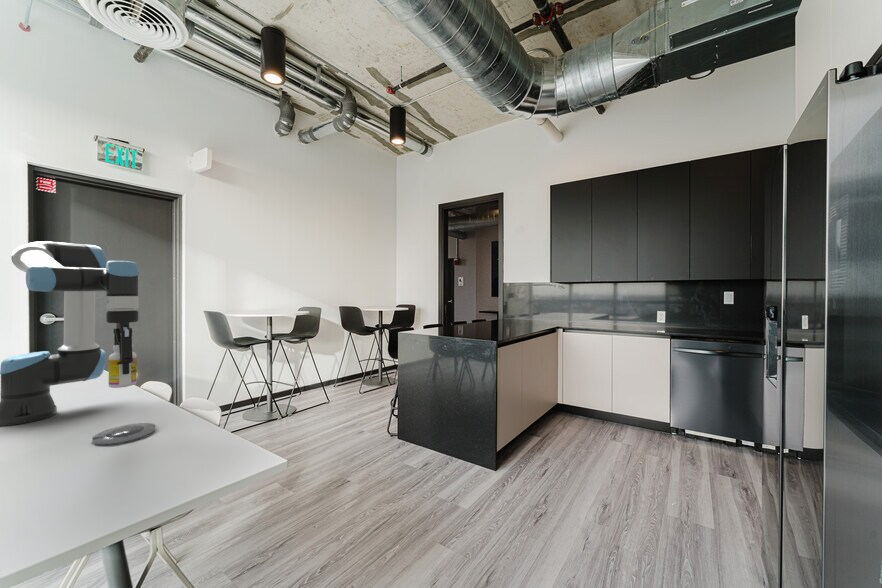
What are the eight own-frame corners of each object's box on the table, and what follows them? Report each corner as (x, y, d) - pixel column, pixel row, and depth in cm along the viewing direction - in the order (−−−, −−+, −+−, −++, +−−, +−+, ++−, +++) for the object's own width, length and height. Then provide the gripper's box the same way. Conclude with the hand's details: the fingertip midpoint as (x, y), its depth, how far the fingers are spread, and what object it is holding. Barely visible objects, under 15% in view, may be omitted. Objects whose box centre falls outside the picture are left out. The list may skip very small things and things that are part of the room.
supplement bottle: (123, 388, 108) (123, 346, 108) (102, 388, 108) (102, 346, 108) (142, 382, 115) (142, 343, 115) (122, 382, 115) (122, 343, 115)
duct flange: (77, 445, 105) (77, 441, 105) (122, 426, 120) (122, 422, 120) (128, 445, 105) (128, 440, 105) (167, 426, 120) (167, 422, 120)
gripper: (101, 309, 115) (102, 379, 115) (111, 311, 102) (112, 390, 103) (132, 308, 121) (132, 375, 121) (144, 310, 108) (145, 385, 108)
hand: (123, 382), depth 112 cm, fingers closed on supplement bottle, 7 cm apart
